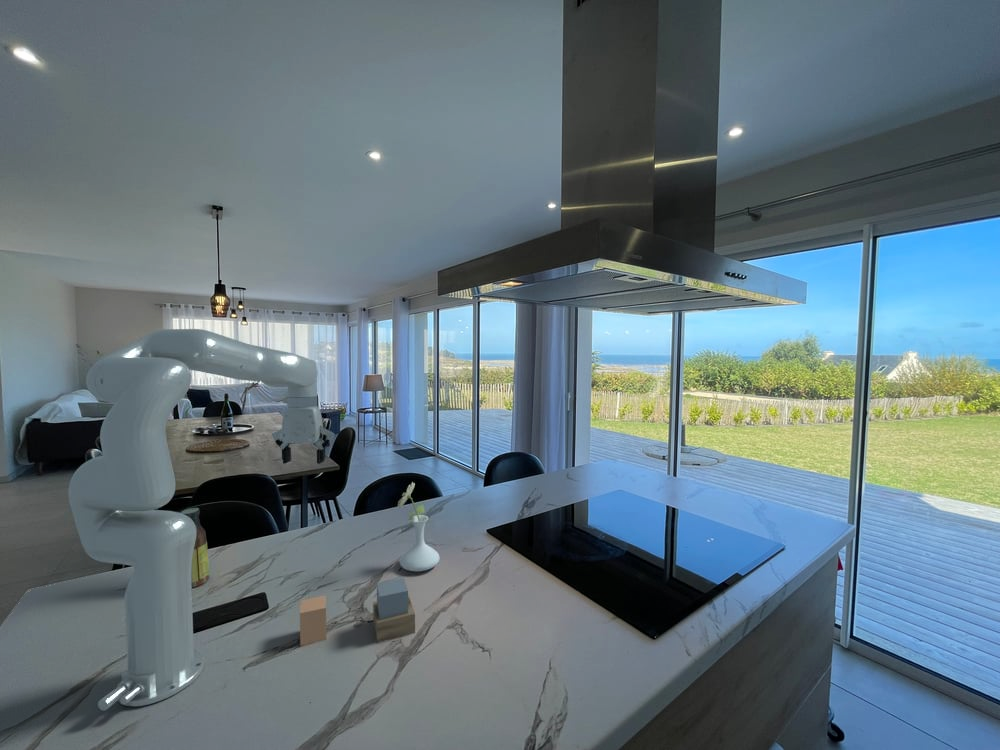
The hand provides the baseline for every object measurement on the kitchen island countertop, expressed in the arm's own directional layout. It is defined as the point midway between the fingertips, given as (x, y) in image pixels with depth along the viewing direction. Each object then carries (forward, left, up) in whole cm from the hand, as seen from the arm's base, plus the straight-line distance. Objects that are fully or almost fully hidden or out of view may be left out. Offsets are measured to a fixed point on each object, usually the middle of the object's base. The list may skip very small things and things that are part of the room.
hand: (303, 462), depth 118 cm
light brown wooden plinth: (-23, -35, -30) cm, 52 cm away
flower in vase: (+3, -32, -30) cm, 44 cm away
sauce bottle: (-13, +24, -30) cm, 40 cm away
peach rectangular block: (-28, -19, -30) cm, 45 cm away
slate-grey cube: (-23, -35, -26) cm, 49 cm away
